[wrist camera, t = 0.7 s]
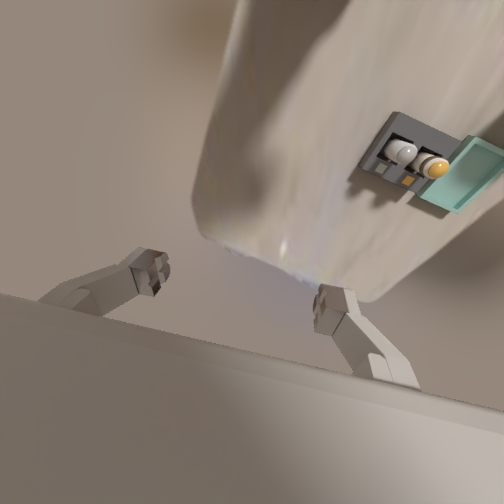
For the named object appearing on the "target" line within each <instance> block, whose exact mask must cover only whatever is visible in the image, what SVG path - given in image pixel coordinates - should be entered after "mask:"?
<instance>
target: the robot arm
mask: <svg viewBox="0 0 504 504" xmlns="http://www.w3.org/2000/svg"><path fill="white" fill-rule="evenodd" d="M168 259H169V258H168V254H167V253H165V252H160V251H156V250H151V249H145V248H142V247H138V248H136V249H135V250H134V251H133V252H132V253H131V254H129V255H128V256H127V257H126V258H125V259H124V260H123V261H121V262H120V263H119V264H118V265H115V264H114V265H112V266H109V267H106V268H103V269H100V270H97V271H94V272H91V273H88V274H86V275H83V276H80V277H77V278H74V279H71V280H68V281H65V282H63V283H60V284H59V285H58V286H56V287H55V288H54V289H52V290H51V291H50V292H48V293H47V294H46V295H44V296H43V297H42V298H40V299H39V300H38V301H32V300H28V299H24V298H20V297H15V296H11V295H6V294H2V293H0V504H504V411H502V410H498V409H494V408H490V407H485V406H481V405H477V404H472V403H468V402H464V401H459V400H455V399H450V398H446V397H442V396H438V395H434V394H429V393H425V392H422V391H421V389H420V387H419V384H418V382H417V380H416V377H415V375H414V373H413V370H412V368H411V365H410V363H409V361H408V360H407V359H406V358H405V357H404V356H403V355H402V354H401V353H400V352H399V351H398V350H397V349H396V348H395V347H394V346H393V345H392V344H391V343H390V342H389V341H388V340H387V339H386V338H385V337H384V336H383V335H382V334H381V333H380V332H379V331H378V330H377V329H376V328H375V327H374V326H373V324H372V323H371V322H369V321H368V320H367V318H366V317H364V316H361V313H360V310H359V306H358V303H357V300H356V296H355V293H354V291H353V289H348V288H343V287H342V288H341V287H336V286H331V285H326V284H321V285H320V286H319V289H318V291H319V294H317V295H316V296H315V299H314V303H313V314H314V315H315V319H314V331H315V332H316V333H321V334H324V335H329V336H332V338H333V340H334V341H335V343H336V345H337V346H338V348H339V349H340V351H341V352H342V354H343V355H344V357H345V359H346V360H347V362H348V363H349V365H350V366H351V368H352V370H353V371H354V372H353V373H352V375H348V374H344V373H340V372H335V371H331V370H327V369H323V368H318V367H314V366H310V365H306V364H302V363H297V362H293V361H289V360H284V359H280V358H276V357H271V356H267V355H263V354H258V353H254V352H250V351H246V350H241V349H237V348H233V347H229V346H224V345H220V344H216V343H212V342H207V341H203V340H199V339H195V338H190V337H186V336H182V335H178V334H173V333H169V332H165V331H161V330H156V329H152V328H148V327H143V326H139V325H135V324H131V323H126V322H122V321H118V320H114V319H109V318H105V317H103V315H105V314H107V313H108V312H110V311H112V310H113V309H115V308H117V307H119V306H120V305H122V304H124V303H125V302H127V301H129V300H131V299H132V298H134V297H136V296H137V295H138V294H142V295H147V296H153V297H154V296H155V295H156V294H157V292H158V291H159V290H160V288H161V284H162V283H164V282H166V280H167V279H168V277H169V274H170V265H169V264H168V263H167V260H168Z"/></svg>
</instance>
